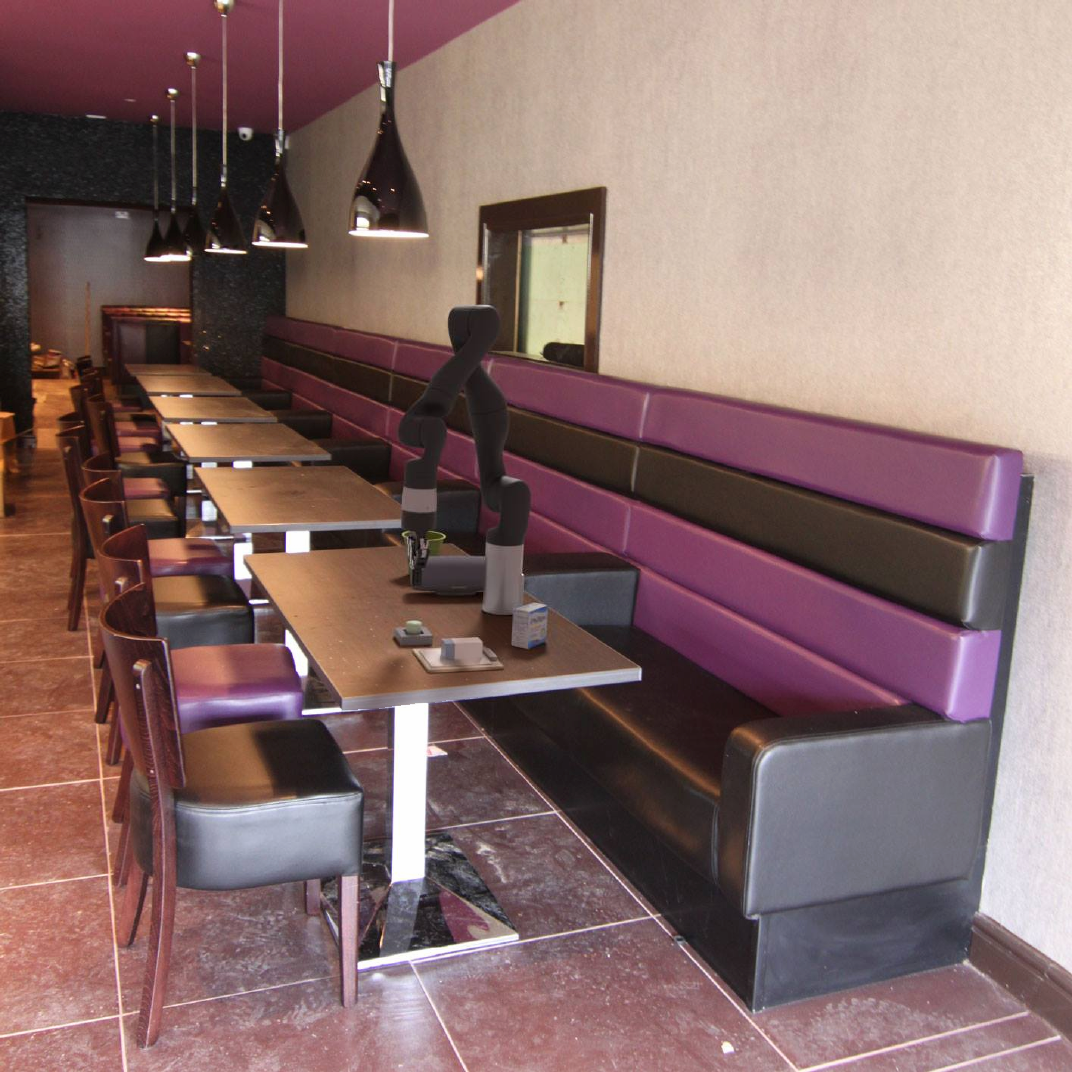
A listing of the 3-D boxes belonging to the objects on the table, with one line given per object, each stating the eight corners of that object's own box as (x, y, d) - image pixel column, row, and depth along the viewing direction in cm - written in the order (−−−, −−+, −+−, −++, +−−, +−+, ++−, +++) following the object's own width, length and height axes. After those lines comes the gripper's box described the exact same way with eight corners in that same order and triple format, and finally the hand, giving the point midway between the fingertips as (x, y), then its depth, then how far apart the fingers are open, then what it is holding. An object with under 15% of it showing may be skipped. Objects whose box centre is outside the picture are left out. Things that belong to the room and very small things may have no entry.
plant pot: (394, 577, 302) (395, 536, 299) (408, 568, 313) (410, 528, 311) (436, 582, 299) (438, 541, 297) (449, 572, 311) (451, 533, 308)
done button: (419, 631, 249) (419, 620, 249) (422, 636, 246) (423, 624, 246) (404, 632, 248) (404, 621, 248) (407, 636, 245) (408, 625, 245)
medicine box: (527, 650, 246) (530, 612, 244) (510, 645, 248) (512, 608, 246) (546, 642, 253) (548, 605, 251) (529, 638, 255) (531, 601, 253)
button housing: (424, 635, 252) (425, 626, 251) (432, 644, 245) (432, 635, 245) (394, 636, 250) (394, 627, 249) (401, 645, 243) (401, 636, 243)
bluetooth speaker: (493, 588, 297) (495, 551, 295) (502, 597, 288) (504, 560, 286) (408, 589, 290) (410, 551, 288) (414, 598, 282) (416, 560, 280)
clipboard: (484, 648, 245) (484, 642, 245) (503, 669, 232) (503, 662, 232) (412, 651, 239) (412, 645, 239) (428, 672, 227) (428, 666, 226)
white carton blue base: (477, 653, 239) (477, 637, 238) (481, 658, 236) (482, 642, 235) (440, 654, 236) (441, 638, 235) (445, 659, 233) (445, 643, 232)
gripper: (443, 513, 237) (440, 592, 240) (428, 502, 249) (425, 577, 252) (409, 513, 234) (405, 593, 238) (395, 501, 246) (392, 578, 250)
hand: (415, 585), depth 245 cm, fingers closed
